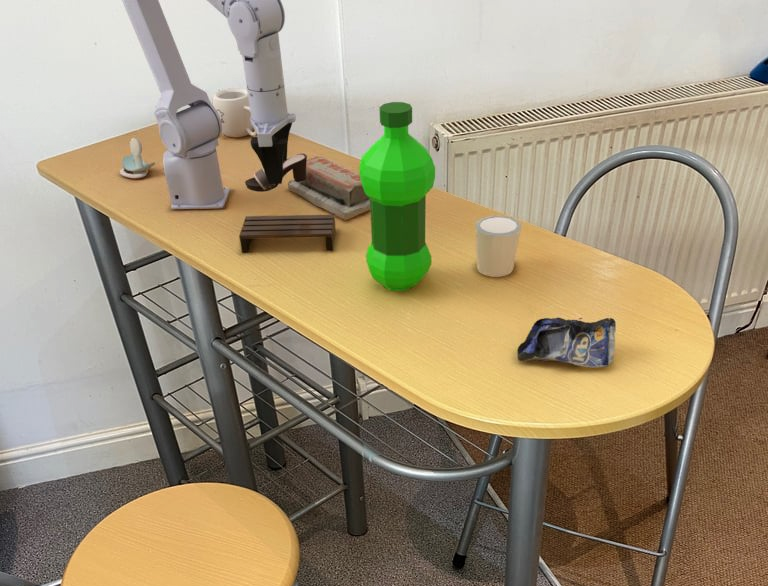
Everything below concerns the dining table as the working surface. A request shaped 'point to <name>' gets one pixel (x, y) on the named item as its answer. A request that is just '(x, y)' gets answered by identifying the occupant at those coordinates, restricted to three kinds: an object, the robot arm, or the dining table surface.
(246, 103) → the mug
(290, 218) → the slatted bench
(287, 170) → the heeled mule
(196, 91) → the robot arm
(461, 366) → the dining table surface
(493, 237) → the shot glass
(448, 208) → the dining table surface
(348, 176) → the packaged product
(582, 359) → the snack package
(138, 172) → the pacifier
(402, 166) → the plastic bottle
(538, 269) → the dining table surface
